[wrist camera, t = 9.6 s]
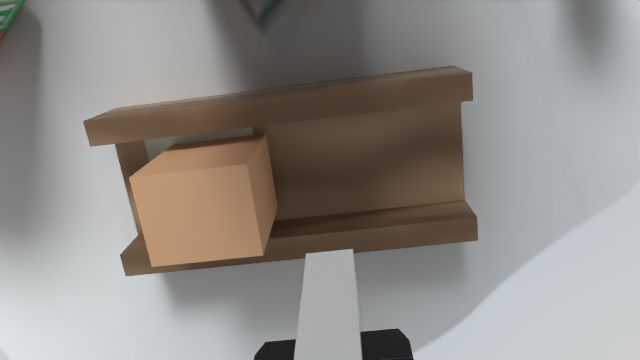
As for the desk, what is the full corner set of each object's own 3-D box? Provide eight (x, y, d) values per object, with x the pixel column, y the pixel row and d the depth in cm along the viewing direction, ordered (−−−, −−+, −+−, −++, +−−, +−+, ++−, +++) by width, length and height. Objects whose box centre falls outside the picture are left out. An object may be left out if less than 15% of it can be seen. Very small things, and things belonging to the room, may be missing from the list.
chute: (116, 108, 33) (83, 121, 28) (453, 65, 31) (472, 72, 27) (151, 245, 36) (125, 276, 31) (460, 212, 34) (477, 240, 30)
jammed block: (172, 144, 31) (128, 177, 25) (265, 133, 31) (246, 163, 24) (189, 217, 33) (151, 266, 26) (277, 207, 33) (263, 255, 26)
